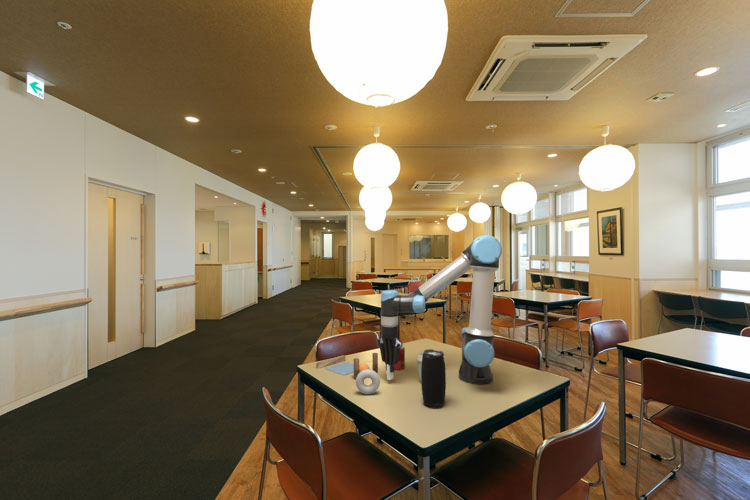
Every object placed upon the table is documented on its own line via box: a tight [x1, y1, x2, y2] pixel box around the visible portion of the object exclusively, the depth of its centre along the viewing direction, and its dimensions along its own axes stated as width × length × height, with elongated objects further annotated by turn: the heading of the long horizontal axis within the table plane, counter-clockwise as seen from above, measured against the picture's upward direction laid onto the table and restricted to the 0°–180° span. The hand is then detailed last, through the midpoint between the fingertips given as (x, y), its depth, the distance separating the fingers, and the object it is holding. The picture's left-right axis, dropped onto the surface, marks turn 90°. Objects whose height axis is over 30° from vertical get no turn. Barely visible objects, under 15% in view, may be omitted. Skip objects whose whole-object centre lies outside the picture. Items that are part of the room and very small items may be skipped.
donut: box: [355, 368, 381, 395], centre depth 133 cm, size 10×4×10 cm, turn 91°
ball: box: [359, 362, 370, 373], centre depth 155 cm, size 6×6×6 cm
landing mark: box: [324, 361, 354, 376], centre depth 165 cm, size 14×14×1 cm
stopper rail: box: [315, 355, 346, 369], centre depth 173 cm, size 2×18×2 cm, turn 137°
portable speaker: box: [420, 348, 447, 410], centre depth 124 cm, size 9×9×20 cm
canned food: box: [394, 344, 406, 371], centre depth 165 cm, size 8×8×11 cm
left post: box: [353, 357, 360, 381], centre depth 151 cm, size 3×3×9 cm
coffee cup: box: [416, 352, 424, 384], centre depth 146 cm, size 9×9×12 cm
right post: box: [371, 352, 379, 374], centre depth 160 cm, size 3×3×9 cm
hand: (390, 378), depth 145 cm, fingers closed
